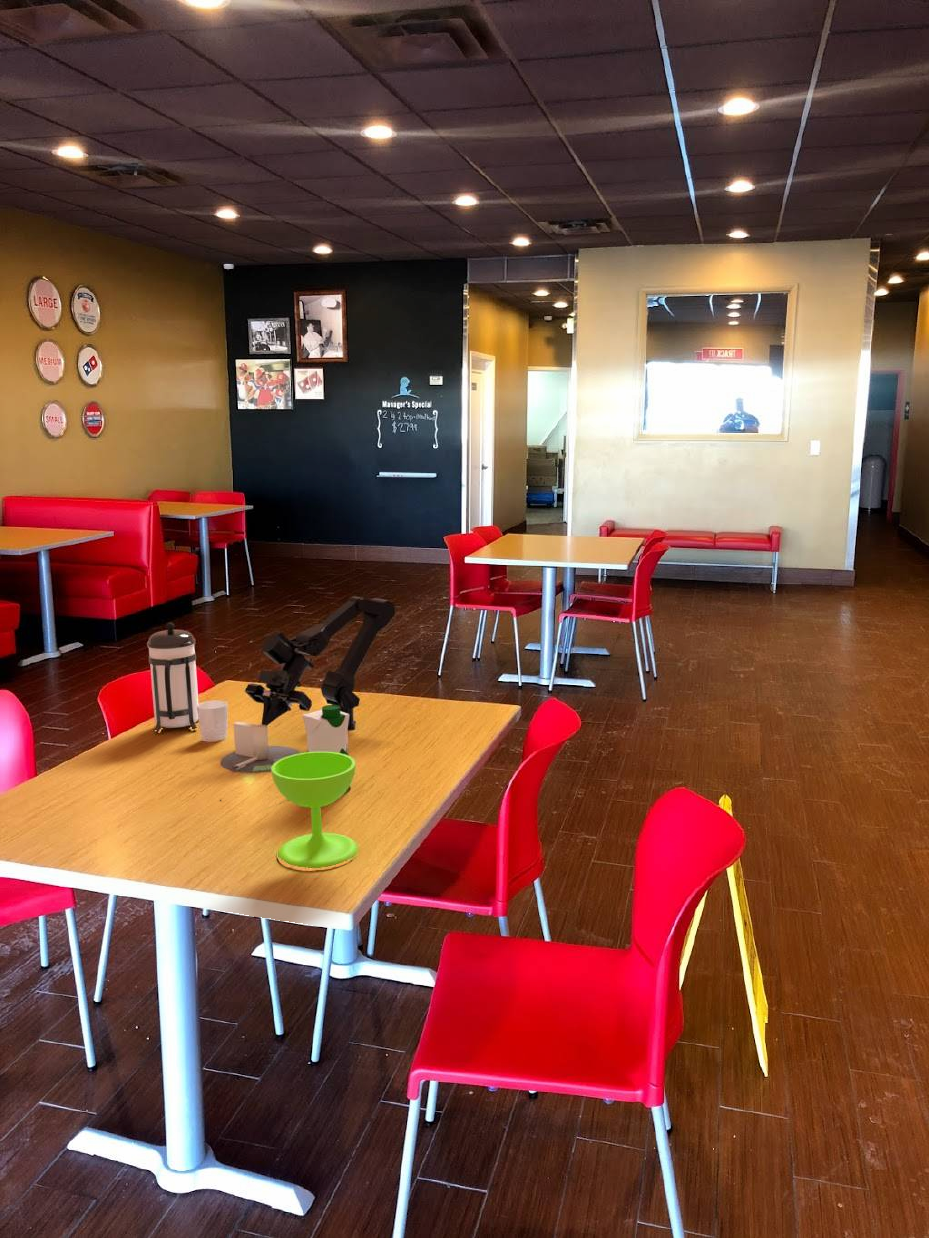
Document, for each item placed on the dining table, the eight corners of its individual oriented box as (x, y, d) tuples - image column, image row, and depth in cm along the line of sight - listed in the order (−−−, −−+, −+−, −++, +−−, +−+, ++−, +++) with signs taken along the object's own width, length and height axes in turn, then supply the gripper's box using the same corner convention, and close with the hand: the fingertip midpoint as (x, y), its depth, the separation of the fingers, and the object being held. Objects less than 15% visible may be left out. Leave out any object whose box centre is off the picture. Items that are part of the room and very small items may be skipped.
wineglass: (262, 849, 188) (257, 762, 185) (335, 829, 197) (331, 746, 194) (298, 879, 176) (293, 786, 172) (374, 856, 185) (371, 767, 181)
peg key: (271, 756, 239) (270, 725, 238) (239, 770, 230) (236, 738, 228) (242, 750, 244) (240, 720, 243) (209, 764, 235) (207, 732, 233)
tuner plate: (318, 756, 242) (318, 752, 242) (264, 781, 226) (264, 777, 225) (259, 744, 252) (259, 740, 252) (203, 767, 236) (202, 763, 235)
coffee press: (136, 729, 267) (127, 624, 261) (185, 716, 279) (178, 615, 273) (171, 741, 256) (162, 631, 250) (221, 727, 268) (214, 622, 262)
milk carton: (325, 799, 214) (321, 713, 210) (301, 789, 220) (297, 705, 216) (356, 789, 220) (353, 705, 216) (332, 779, 226) (328, 697, 222)
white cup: (193, 743, 254) (190, 707, 253) (211, 734, 262) (208, 699, 260) (217, 746, 252) (215, 709, 250) (235, 737, 259) (233, 701, 257)
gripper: (247, 653, 250) (219, 704, 243) (302, 661, 241) (275, 714, 234) (269, 676, 259) (242, 726, 251) (323, 684, 249) (297, 736, 242)
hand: (263, 725), depth 244 cm, fingers closed
